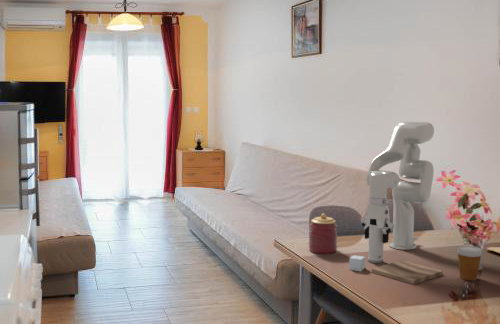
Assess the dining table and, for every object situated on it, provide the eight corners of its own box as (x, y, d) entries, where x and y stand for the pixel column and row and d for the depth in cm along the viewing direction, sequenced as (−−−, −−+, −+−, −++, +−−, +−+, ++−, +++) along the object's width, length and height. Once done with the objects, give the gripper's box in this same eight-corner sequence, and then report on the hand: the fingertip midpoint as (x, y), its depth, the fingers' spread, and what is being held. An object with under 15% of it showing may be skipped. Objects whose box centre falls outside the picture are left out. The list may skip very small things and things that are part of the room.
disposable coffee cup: (478, 283, 230) (479, 253, 228) (453, 279, 235) (454, 249, 233) (483, 276, 238) (484, 247, 236) (458, 273, 243) (460, 244, 241)
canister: (324, 256, 267) (324, 217, 265) (303, 250, 277) (303, 213, 275) (342, 251, 276) (343, 213, 274) (321, 245, 286) (322, 209, 284)
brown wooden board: (401, 263, 256) (401, 260, 256) (442, 274, 241) (442, 270, 240) (371, 272, 243) (372, 268, 243) (413, 284, 228) (413, 280, 228)
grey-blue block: (353, 266, 251) (353, 255, 251) (364, 268, 249) (365, 256, 248) (349, 269, 247) (349, 257, 247) (360, 271, 245) (360, 259, 244)
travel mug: (383, 263, 255) (385, 218, 253) (368, 262, 257) (369, 217, 254) (383, 259, 261) (385, 215, 259) (368, 259, 263) (369, 214, 260)
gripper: (399, 203, 252) (398, 243, 253) (367, 198, 265) (366, 235, 267) (388, 205, 247) (387, 245, 249) (356, 199, 260) (355, 237, 262)
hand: (376, 240), depth 258 cm, fingers open, 9 cm apart
